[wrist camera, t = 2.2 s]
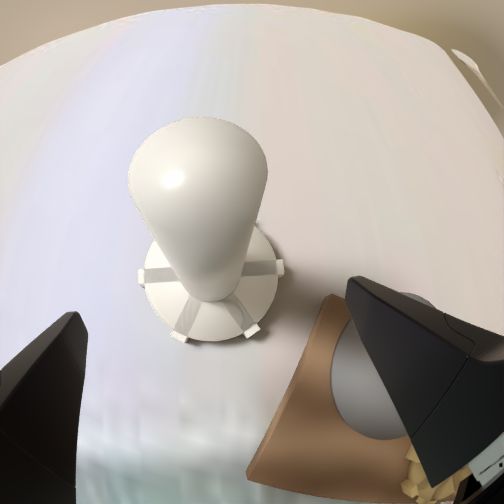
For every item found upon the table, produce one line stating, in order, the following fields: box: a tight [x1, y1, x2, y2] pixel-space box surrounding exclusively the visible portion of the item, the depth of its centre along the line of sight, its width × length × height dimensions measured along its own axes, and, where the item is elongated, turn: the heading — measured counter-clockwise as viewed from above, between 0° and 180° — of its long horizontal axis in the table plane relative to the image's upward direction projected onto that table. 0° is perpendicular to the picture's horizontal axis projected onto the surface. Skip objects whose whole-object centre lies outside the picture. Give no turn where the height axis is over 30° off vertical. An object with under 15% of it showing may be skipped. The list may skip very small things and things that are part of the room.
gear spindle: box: [128, 117, 285, 343], centre depth 14 cm, size 10×9×13 cm
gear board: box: [246, 292, 472, 504], centre depth 16 cm, size 16×22×4 cm
